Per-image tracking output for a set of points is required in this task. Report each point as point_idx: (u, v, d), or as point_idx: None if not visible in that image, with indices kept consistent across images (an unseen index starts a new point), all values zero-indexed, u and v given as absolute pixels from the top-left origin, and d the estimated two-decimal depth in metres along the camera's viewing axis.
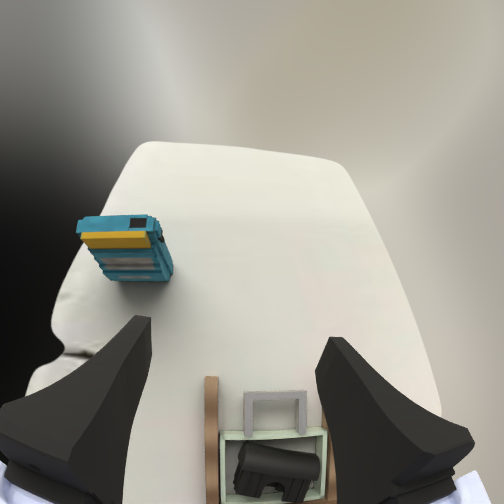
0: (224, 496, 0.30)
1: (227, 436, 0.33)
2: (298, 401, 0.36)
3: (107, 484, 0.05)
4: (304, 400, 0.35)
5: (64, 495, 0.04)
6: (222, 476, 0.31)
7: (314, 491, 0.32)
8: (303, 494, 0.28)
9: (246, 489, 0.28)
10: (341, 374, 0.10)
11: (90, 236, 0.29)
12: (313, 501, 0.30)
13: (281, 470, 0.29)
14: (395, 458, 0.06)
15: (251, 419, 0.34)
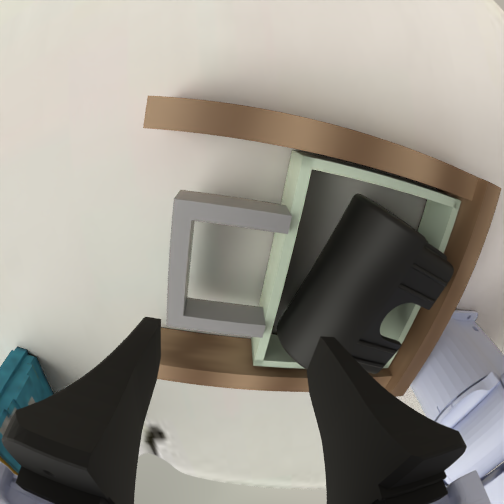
0: None
1: (257, 356, 0.20)
2: None
3: (121, 487, 0.05)
4: (199, 207, 0.15)
5: (79, 500, 0.04)
6: None
7: (436, 204, 0.18)
8: (438, 267, 0.15)
9: (372, 364, 0.17)
10: (331, 375, 0.10)
11: None
12: (457, 223, 0.17)
13: (361, 314, 0.15)
14: (383, 461, 0.06)
15: (226, 323, 0.18)
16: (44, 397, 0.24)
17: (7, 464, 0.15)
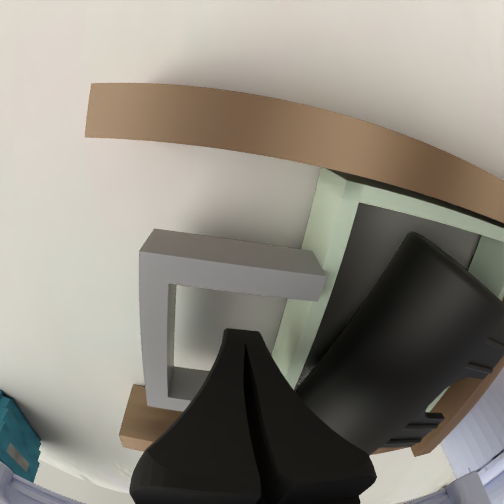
0: None
1: None
2: None
3: None
4: (179, 264, 0.09)
5: None
6: None
7: (496, 240, 0.12)
8: None
9: (408, 441, 0.12)
10: (245, 371, 0.10)
11: None
12: None
13: (411, 405, 0.09)
14: (265, 473, 0.05)
15: None
16: (25, 440, 0.18)
17: None
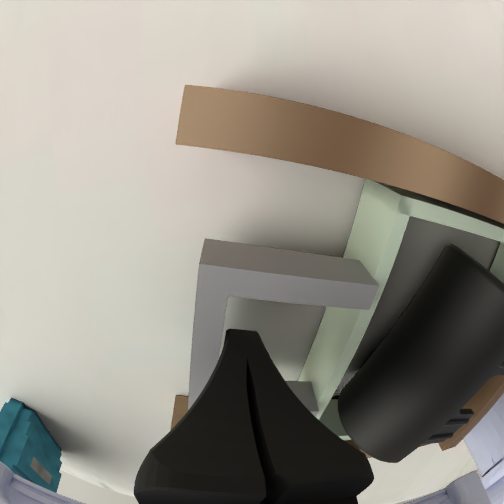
0: None
1: None
2: None
3: None
4: (241, 277, 0.09)
5: None
6: None
7: None
8: None
9: (442, 437, 0.12)
10: None
11: None
12: None
13: (453, 404, 0.09)
14: None
15: None
16: (47, 452, 0.18)
17: None
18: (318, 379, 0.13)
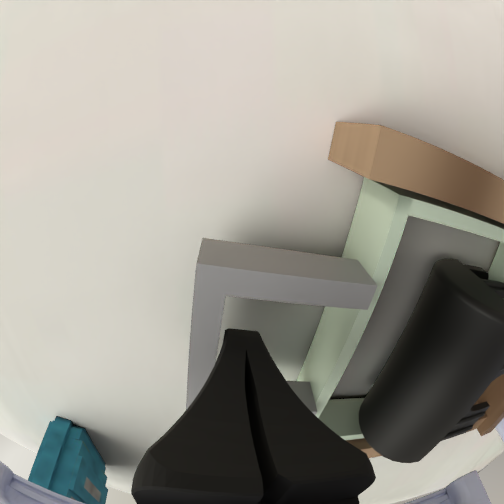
0: None
1: None
2: None
3: None
4: (238, 277, 0.09)
5: None
6: None
7: None
8: None
9: None
10: (244, 371, 0.10)
11: None
12: None
13: (455, 413, 0.10)
14: (264, 473, 0.05)
15: None
16: (96, 468, 0.19)
17: None
18: (316, 379, 0.13)
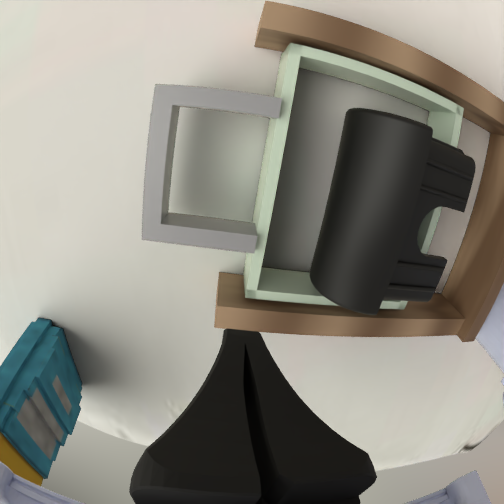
0: (387, 302, 0.19)
1: (249, 283, 0.17)
2: None
3: None
4: (181, 91, 0.12)
5: None
6: None
7: (439, 116, 0.15)
8: (457, 161, 0.12)
9: (422, 290, 0.15)
10: (245, 371, 0.10)
11: None
12: None
13: (392, 228, 0.13)
14: (265, 473, 0.05)
15: (210, 233, 0.15)
16: (70, 378, 0.22)
17: (25, 461, 0.13)
18: (258, 212, 0.16)
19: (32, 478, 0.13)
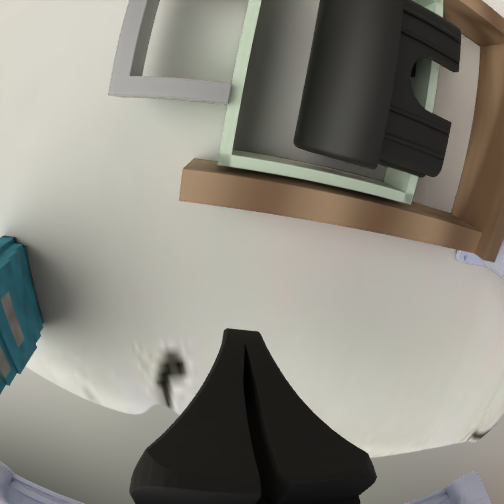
0: (390, 190, 0.15)
1: (222, 146, 0.14)
2: None
3: None
4: None
5: None
6: (336, 181, 0.15)
7: None
8: (439, 19, 0.09)
9: (429, 153, 0.12)
10: (245, 371, 0.10)
11: None
12: None
13: (378, 59, 0.10)
14: (265, 473, 0.05)
15: (180, 81, 0.12)
16: (26, 306, 0.19)
17: None
18: None
19: None
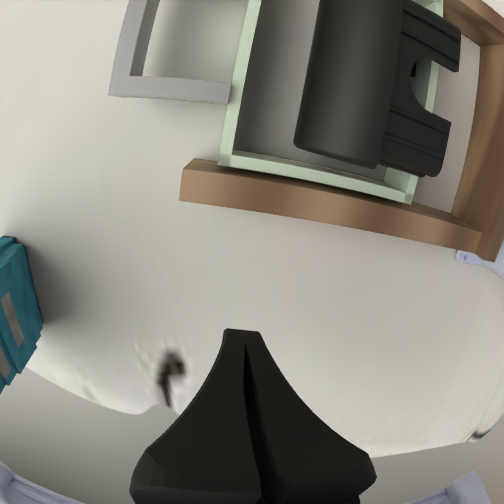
0: (390, 190, 0.15)
1: (222, 146, 0.14)
2: None
3: None
4: None
5: None
6: (336, 181, 0.15)
7: None
8: (439, 19, 0.09)
9: (429, 153, 0.12)
10: (245, 371, 0.10)
11: None
12: None
13: (377, 58, 0.10)
14: (265, 473, 0.05)
15: (180, 81, 0.12)
16: (26, 306, 0.19)
17: None
18: None
19: None
